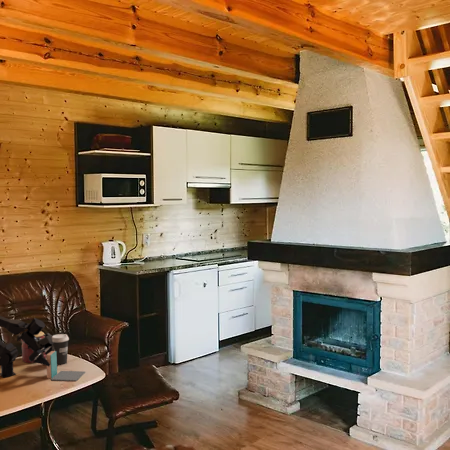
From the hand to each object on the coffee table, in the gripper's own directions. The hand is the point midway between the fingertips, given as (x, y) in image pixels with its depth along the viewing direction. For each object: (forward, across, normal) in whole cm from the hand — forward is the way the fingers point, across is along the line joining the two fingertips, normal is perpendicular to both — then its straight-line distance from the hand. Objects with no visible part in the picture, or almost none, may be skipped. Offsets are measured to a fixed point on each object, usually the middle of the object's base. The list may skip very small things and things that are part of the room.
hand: (53, 362), depth 273 cm
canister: (-10, +24, +21) cm, 33 cm away
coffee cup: (+2, +20, +8) cm, 21 cm away
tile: (+4, 0, +6) cm, 7 cm away
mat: (+10, 0, 0) cm, 10 cm away
